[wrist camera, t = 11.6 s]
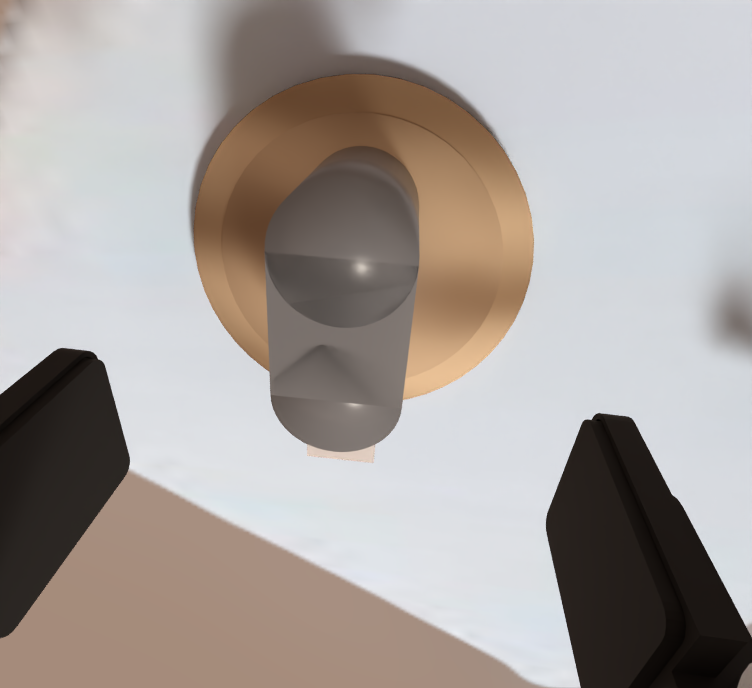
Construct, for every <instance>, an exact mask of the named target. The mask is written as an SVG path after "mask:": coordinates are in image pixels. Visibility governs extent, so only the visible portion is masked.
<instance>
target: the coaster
mask: <svg viewBox="0 0 752 688" xmlns="http://www.w3.org/2000/svg"><path fill="white" fill-rule="evenodd" d="M353 146H368V147H374V148H377V149H381V150H383V151H385V152H387V153H389V154H391V155H392V156H394V157H395V158H396V159H398V160H399V161H400V162H401V163H402V164H403V165H404V166H405V167H406V169H407V170H408V172H409V173H410V174H411V176H412V178H413V180H414V182H415V185H416V188H417V192H418V198H419V250H420V258H419V271H418V279H417V287H416V295H415V303H414V312H413V320H412V328H411V336H410V344H409V352H408V361H407V369H406V377H405V385H404V393H403V400H404V399H410V398H413V397H417V396H420V395H424V394H427V393H429V392H432V391H434V390H437V389H439V388H442V387H444V386H446V385H448V384H449V383H451V382H453V381H455V380H457V379H459V378H460V377H462V376H463V375H465V374H466V373H467V372H469V371H470V370H472V369H473V368H474V367H476V366H477V365H478V364H479V363H480V362H481V361H482V360H483V359H485V358H486V357H487V356H488V355H489V354H490V353H491V352H492V351H493V349H494V348H495V347H496V346H497V345H498V344H499V342H500V341H501V340H502V339H503V338H504V336H505V334H506V333H507V331H508V330H509V328H510V327H511V325H512V324H513V322H514V320H515V318H516V316H517V314H518V312H519V310H520V308H521V306H522V304H523V301H524V298H525V295H526V292H527V288H528V285H529V282H530V276H531V270H532V265H533V249H534V236H533V227H532V217H531V213H530V209H529V205H528V201H527V197H526V194H525V191H524V189H523V186H522V184H521V182H520V179H519V177H518V174H517V172H516V170H515V168H514V167H513V165H512V163H511V162H510V160H509V158H508V157H507V155H506V153H505V152H504V150H503V149H502V148H501V146H500V145H499V144H498V143H497V141H496V140H495V139H494V138H493V136H492V135H491V134H490V133H489V132H488V130H486V129H485V128H484V127H483V126H482V125H481V124H480V123H479V122H478V121H477V120H476V119H475V118H474V117H472V116H471V115H470V114H469V113H468V112H467V111H465V110H464V109H463V108H461V107H460V106H458V105H457V104H455V103H454V102H452V101H451V100H449V99H448V98H447V97H445V96H443V95H440V94H438V93H436V92H434V91H432V90H430V89H428V88H426V87H424V86H421V85H418V84H415V83H412V82H409V81H406V80H403V79H399V78H393V77H387V76H381V75H375V74H345V75H338V76H331V77H324V78H319V79H315V80H312V81H309V82H305V83H302V84H299V85H295V86H293V87H291V88H289V89H287V90H285V91H283V92H281V93H278V94H276V95H274V96H272V97H271V98H269V99H268V100H266V101H265V102H264V103H262V104H261V105H259V106H258V107H256V108H255V109H253V110H252V111H251V112H250V113H249V114H248V115H247V116H245V117H244V118H243V119H242V120H241V121H240V122H239V123H238V124H237V125H236V126H235V127H234V128H233V129H232V131H231V132H230V133H229V134H228V136H227V137H226V138H225V139H224V141H223V142H222V143H221V145H220V146H219V148H218V150H217V151H216V153H215V155H214V157H213V158H212V160H211V162H210V164H209V166H208V168H207V171H206V173H205V176H204V178H203V181H202V184H201V186H200V191H199V195H198V199H197V203H196V208H195V220H194V247H195V255H196V260H197V266H198V271H199V274H200V278H201V281H202V284H203V287H204V290H205V293H206V295H207V297H208V299H209V301H210V304H211V306H212V308H213V310H214V311H215V313H216V315H217V316H218V318H219V320H220V321H221V323H222V325H223V326H224V328H225V329H226V330H227V331H228V333H229V334H230V335H231V337H232V338H233V339H234V340H235V342H236V343H237V344H238V345H239V346H240V347H241V348H242V349H243V350H244V351H245V352H246V353H247V354H248V355H249V356H250V357H251V358H253V359H254V360H255V361H256V362H257V363H259V364H260V365H261V366H262V367H264V368H265V369H266V370H268V371H269V372H270V369H269V346H268V322H267V299H266V275H265V237H266V232H267V229H268V225H269V222H270V220H271V218H272V216H273V214H274V213H275V211H276V210H277V208H278V207H279V205H280V204H281V203H282V202H283V201H284V200H285V199H286V198H287V197H288V196H289V195H290V194H291V193H292V192H293V191H294V190H295V189H296V188H297V187H298V186H299V185H300V184H301V183H302V182H303V181H304V180H305V179H306V178H307V177H308V176H309V175H310V174H311V173H312V172H313V171H314V170H315V169H316V168H317V167H318V166H319V165H320V164H321V163H322V162H323V161H324V160H325V159H326V158H327V157H328V156H330V155H331V154H333V153H335V152H337V151H339V150H341V149H344V148H348V147H353Z"/></svg>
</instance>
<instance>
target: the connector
mask: <svg viewBox="0 0 752 688" xmlns="http://www.w3.org/2000/svg"><path fill="white" fill-rule="evenodd" d="M419 258H420V250H419V198H418V192H417V188H416V185H415V182H414V180H413V178H412V176H411V174H410V173H409V172H408V170H407V169H406V167H405V166H404V165H403V164H402V163H401V162H400V161H399V160H398V159H396V158H395V157H394V156H392V155H391V154H389V153H387V152H385V151H383V150H381V149H377V148H374V147H368V146H353V147H348V148H344V149H341V150H339V151H337V152H335V153H333V154H331V155H330V156H328V157H327V158H326V159H325V160H324V161H323V162H322V163H321V164H320V165H319V166H318V167H317V168H316V169H315V170H314V171H313V172H312V173H311V174H310V175H309V176H308V177H307V178H306V179H305V180H304V181H303V182H302V183H301V184H300V185H299V186H298V187H297V188H296V189H295V190H294V191H293V192H292V193H291V194H290V195H289V196H288V197H287V198H286V199H285V200H284V201H283V202H282V203H281V204H280V205H279V207H278V208H277V210H276V211H275V213H274V214H273V216H272V218H271V220H270V222H269V225H268V229H267V232H266V237H265V275H266V299H267V322H268V346H269V369H270V393H271V402H272V406H273V409H274V411H275V414H276V416H277V417H278V419H279V421H280V422H281V423H282V425H283V426H284V427H285V428H286V429H287V430H288V431H289V432H290V433H291V434H292V435H293V436H295V437H296V438H298V439H299V440H301V441H302V442H304V443H306V444H307V456H313V457H323V458H332V459H342V460H351V461H360V462H370V463H373V461H374V452H375V444H377V443H379V442H380V441H381V440H383V439H384V438H385V437H386V436H388V435H389V434H390V433H391V431H392V430H393V429H394V427H395V426H396V424H397V422H398V420H399V417H400V414H401V409H402V402H403V393H404V385H405V377H406V369H407V361H408V352H409V344H410V336H411V328H412V320H413V312H414V303H415V295H416V287H417V279H418V271H419Z"/></svg>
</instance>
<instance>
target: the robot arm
mask: <svg viewBox="0 0 752 688" xmlns="http://www.w3.org/2000/svg"><path fill="white" fill-rule="evenodd" d="M129 465H130V457H129V453H128V449H127V446H126V442H125V438H124V435H123V431H122V427H121V424H120V420H119V416H118V412H117V409H116V405H115V401H114V398H113V394H112V390H111V386H110V383H109V379H108V375H107V372H106V368H105V365H104V363H103V362H102V361H101V360H98V358H97V356H96V355H95V354H94V353H93V352H90V351H84V350H76V349H67V348H60V349H57V350H55V351H54V352H53V353H51V354H50V355H49V356H48V357H46V358H45V359H44V360H43V361H41V362H40V363H39V364H38V365H36V366H35V367H34V368H33V369H31V370H30V371H29V372H28V373H26V374H25V375H24V376H23V377H22V378H20V379H19V380H18V381H17V382H15V383H14V384H13V385H12V386H10V387H9V388H8V389H7V390H5V391H4V392H3V393H2V394H0V638H3V637H6V636H8V635H9V634H10V633H11V632H12V631H13V630H14V629H15V628H16V627H17V626H18V624H19V623H20V621H21V620H22V619H23V617H24V616H25V615H26V613H27V612H28V610H29V609H30V608H31V606H32V605H33V603H34V602H35V601H36V599H37V598H38V596H39V595H40V594H41V592H42V591H43V590H44V588H45V587H46V585H47V584H48V583H49V581H50V580H51V578H52V577H53V576H54V574H55V573H56V571H57V570H58V569H59V567H60V566H61V565H62V563H63V562H64V560H65V559H66V558H67V556H68V555H69V553H70V552H71V551H72V549H73V548H74V547H75V545H76V544H77V542H78V541H79V540H80V538H81V537H82V535H83V534H84V533H85V531H86V530H87V528H88V527H89V526H90V524H91V523H92V521H93V520H94V519H95V517H96V516H97V515H98V513H99V512H100V510H101V509H102V508H103V506H104V505H105V503H106V502H107V501H108V499H109V498H110V497H111V495H112V494H113V492H114V491H115V490H116V488H117V487H118V485H119V484H120V483H121V481H122V480H123V478H124V477H125V475H126V474H127V472H128V469H129ZM546 532H547V537H548V541H549V546H550V551H551V555H552V560H553V564H554V569H555V573H556V578H557V582H558V587H559V591H560V596H561V600H562V605H563V609H564V614H565V618H566V623H567V627H568V632H569V636H570V641H571V645H572V650H573V654H574V659H575V663H576V668H577V672H578V677H579V681H580V686H581V688H752V637H751V635H750V633H749V632H748V630H747V628H746V626H745V624H744V622H743V620H742V618H741V616H740V614H739V613H738V611H737V609H736V607H735V605H734V603H733V601H732V599H731V597H730V595H729V594H728V592H727V590H726V588H725V586H724V584H723V582H722V580H721V578H720V576H719V575H718V573H717V571H716V569H715V567H714V565H713V563H712V561H711V559H710V557H709V556H708V554H707V552H706V550H705V548H704V546H703V544H702V542H701V540H700V539H699V537H698V535H697V533H696V531H695V529H694V527H693V525H692V523H691V521H690V520H689V518H688V516H687V514H686V512H685V510H684V508H683V506H682V505H681V503H680V502H679V501H678V499H677V498H675V497H674V496H673V495H672V494H671V492H670V490H669V488H668V486H667V484H666V482H665V480H664V479H663V477H662V475H661V473H660V471H659V469H658V467H657V465H656V463H655V461H654V459H653V457H652V455H651V453H650V451H649V450H648V448H647V446H646V444H645V442H644V440H643V438H642V436H641V434H640V432H639V430H638V428H637V426H636V424H635V422H634V421H633V420H632V418H630V417H626V416H618V415H610V414H601V413H598V414H596V415H595V416H594V417H593V419H592V420H584V421H583V423H582V425H581V427H580V430H579V433H578V435H577V438H576V440H575V443H574V446H573V448H572V451H571V453H570V456H569V459H568V461H567V464H566V466H565V469H564V471H563V474H562V477H561V479H560V482H559V484H558V487H557V490H556V492H555V495H554V497H553V500H552V503H551V505H550V508H549V510H548V513H547V518H546Z"/></svg>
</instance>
